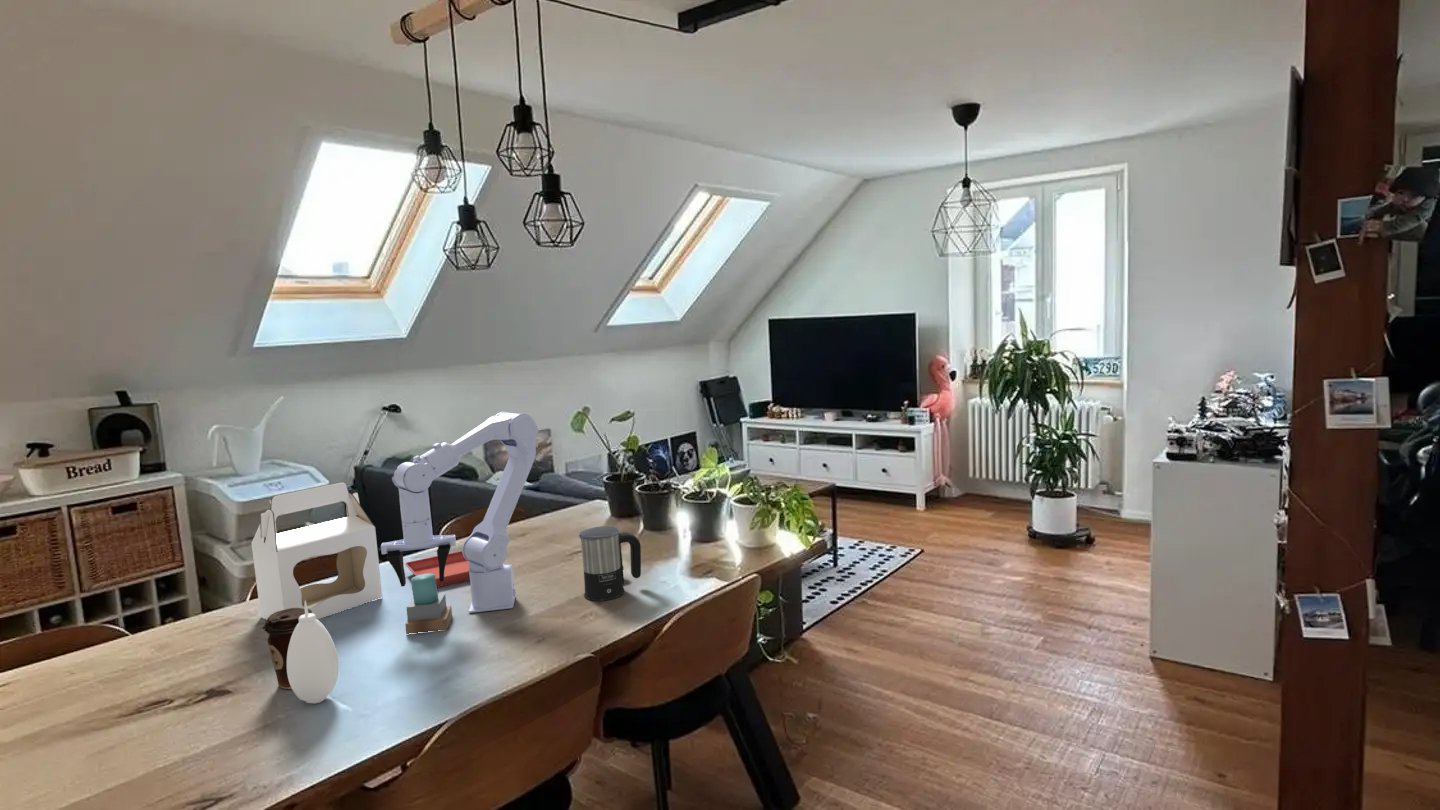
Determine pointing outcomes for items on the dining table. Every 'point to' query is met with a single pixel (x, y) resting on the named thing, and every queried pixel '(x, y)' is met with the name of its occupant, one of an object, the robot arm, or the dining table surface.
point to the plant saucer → (453, 568)
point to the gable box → (316, 554)
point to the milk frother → (607, 561)
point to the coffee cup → (282, 639)
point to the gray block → (426, 609)
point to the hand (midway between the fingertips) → (422, 582)
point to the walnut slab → (430, 623)
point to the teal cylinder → (424, 589)
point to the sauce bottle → (311, 660)
